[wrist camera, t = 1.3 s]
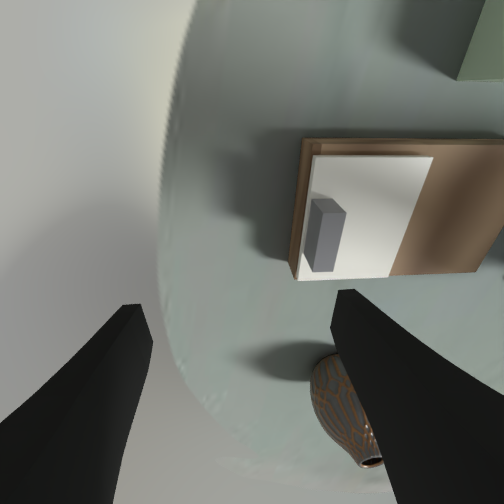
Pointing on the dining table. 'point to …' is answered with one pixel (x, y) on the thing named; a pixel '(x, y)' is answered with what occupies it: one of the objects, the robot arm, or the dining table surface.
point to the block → (486, 46)
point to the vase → (343, 412)
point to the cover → (358, 214)
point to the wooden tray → (428, 200)
